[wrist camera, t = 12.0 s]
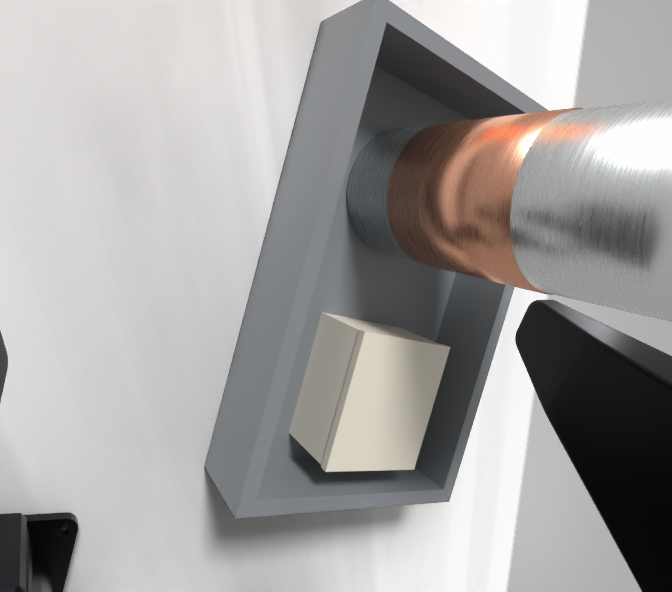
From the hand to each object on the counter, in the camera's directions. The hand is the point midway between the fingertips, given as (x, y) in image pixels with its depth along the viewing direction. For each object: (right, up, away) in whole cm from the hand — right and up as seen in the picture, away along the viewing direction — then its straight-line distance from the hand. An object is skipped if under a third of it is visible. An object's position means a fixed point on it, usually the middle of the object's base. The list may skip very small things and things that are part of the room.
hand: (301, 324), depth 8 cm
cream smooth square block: (+1, -4, +16) cm, 17 cm away
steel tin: (+4, +5, +15) cm, 17 cm away
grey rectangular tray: (+2, +1, +16) cm, 16 cm away
